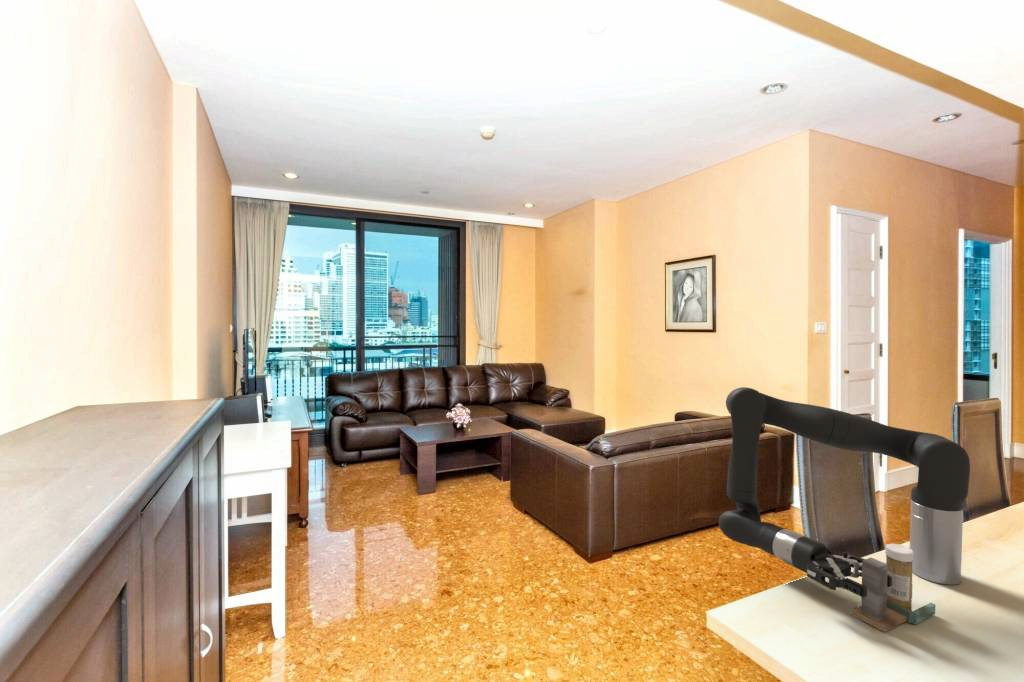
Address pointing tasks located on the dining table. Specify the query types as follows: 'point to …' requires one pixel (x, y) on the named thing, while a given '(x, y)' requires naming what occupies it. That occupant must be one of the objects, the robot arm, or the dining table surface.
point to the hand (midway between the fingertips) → (878, 587)
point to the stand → (884, 600)
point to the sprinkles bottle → (900, 574)
